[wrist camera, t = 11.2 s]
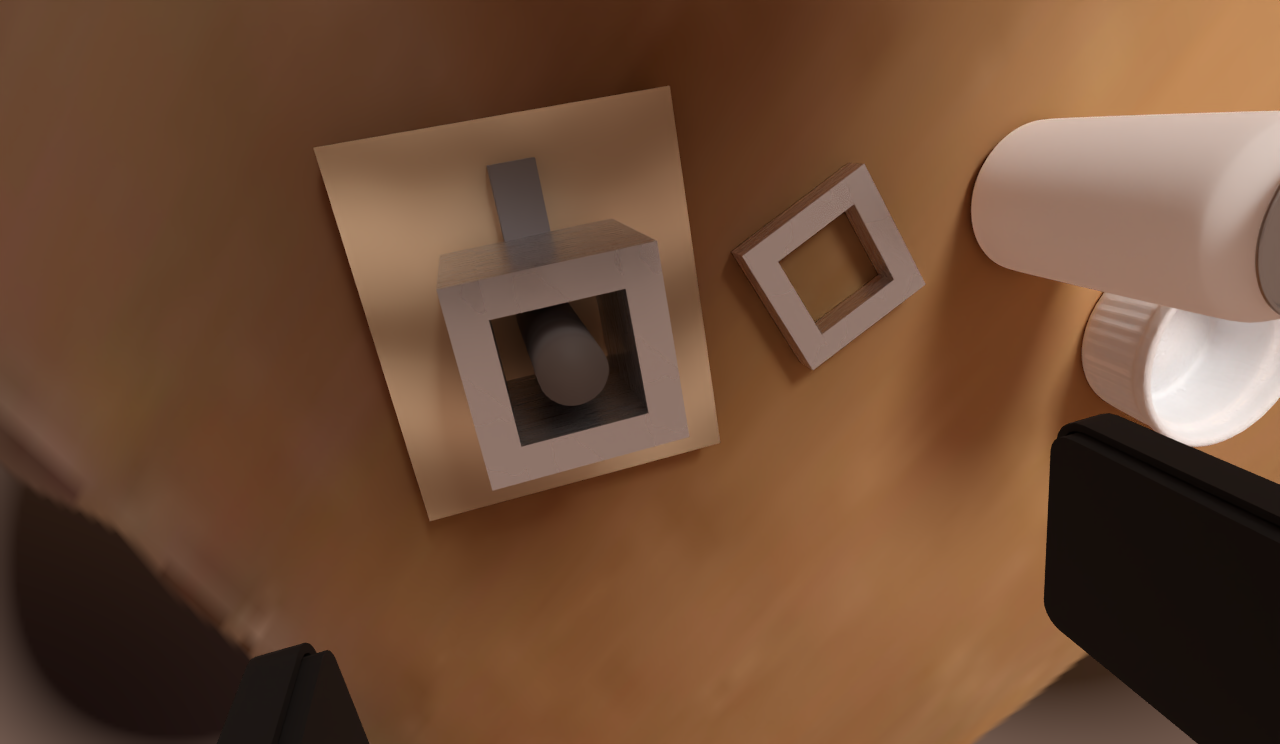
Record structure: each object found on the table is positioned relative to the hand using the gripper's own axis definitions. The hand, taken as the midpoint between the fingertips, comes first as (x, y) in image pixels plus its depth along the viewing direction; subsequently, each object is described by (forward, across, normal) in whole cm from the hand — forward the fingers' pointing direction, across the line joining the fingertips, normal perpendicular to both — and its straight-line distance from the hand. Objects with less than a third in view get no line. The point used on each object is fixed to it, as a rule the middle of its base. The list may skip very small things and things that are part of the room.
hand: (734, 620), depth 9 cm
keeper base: (+20, 0, +1) cm, 20 cm away
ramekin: (+21, -29, +8) cm, 36 cm away
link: (+18, 0, 0) cm, 18 cm away
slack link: (+20, -12, +2) cm, 23 cm away
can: (+20, -22, 0) cm, 30 cm away
